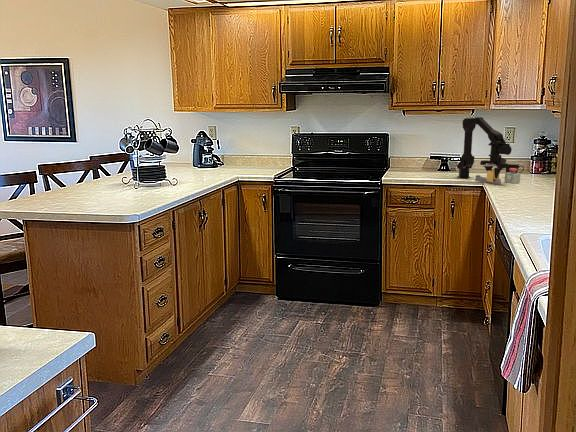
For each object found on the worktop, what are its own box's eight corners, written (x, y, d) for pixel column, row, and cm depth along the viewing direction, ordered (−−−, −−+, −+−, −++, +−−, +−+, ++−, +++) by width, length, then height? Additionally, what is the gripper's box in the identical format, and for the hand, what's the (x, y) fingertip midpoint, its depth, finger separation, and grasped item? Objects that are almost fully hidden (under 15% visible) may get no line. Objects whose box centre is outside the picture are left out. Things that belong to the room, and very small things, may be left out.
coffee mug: (503, 178, 396) (504, 163, 394) (505, 177, 404) (506, 162, 401) (521, 180, 391) (523, 165, 389) (523, 178, 398) (524, 163, 396)
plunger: (507, 177, 381) (508, 168, 380) (512, 177, 383) (513, 168, 382) (512, 178, 377) (513, 169, 376) (517, 178, 379) (518, 168, 378)
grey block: (504, 182, 382) (504, 172, 381) (511, 181, 385) (512, 172, 384) (512, 183, 376) (513, 174, 375) (519, 183, 379) (520, 173, 378)
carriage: (486, 180, 378) (487, 170, 376) (492, 180, 380) (493, 170, 379) (492, 182, 373) (493, 171, 372) (498, 181, 376) (499, 171, 374)
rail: (475, 180, 388) (475, 175, 388) (478, 179, 390) (479, 175, 389) (496, 184, 372) (497, 179, 371) (500, 184, 373) (500, 179, 372)
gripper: (515, 154, 368) (513, 179, 372) (493, 151, 385) (491, 175, 388) (502, 155, 363) (500, 180, 367) (480, 151, 380) (478, 175, 383)
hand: (492, 177), depth 376 cm, fingers closed on carriage, 5 cm apart
